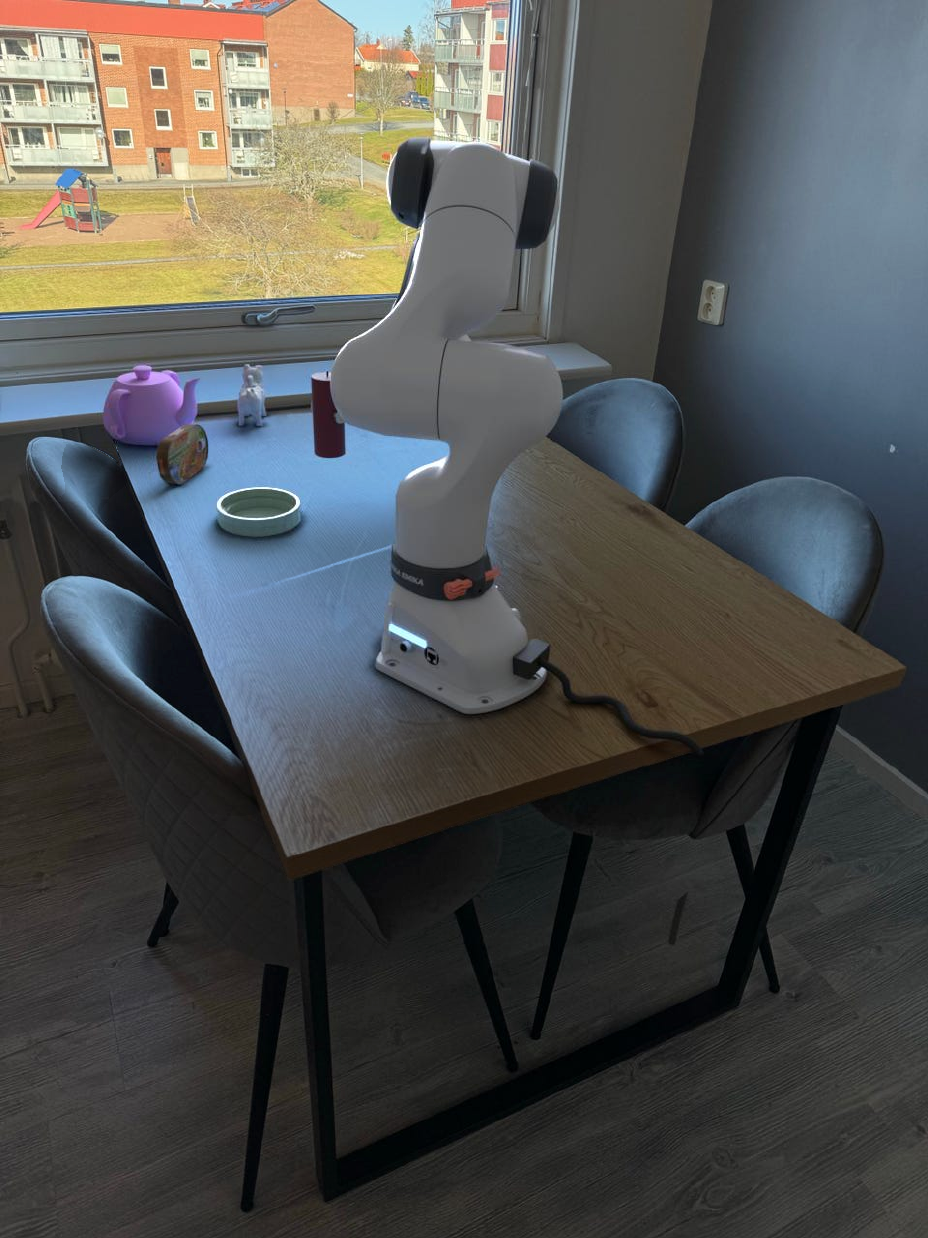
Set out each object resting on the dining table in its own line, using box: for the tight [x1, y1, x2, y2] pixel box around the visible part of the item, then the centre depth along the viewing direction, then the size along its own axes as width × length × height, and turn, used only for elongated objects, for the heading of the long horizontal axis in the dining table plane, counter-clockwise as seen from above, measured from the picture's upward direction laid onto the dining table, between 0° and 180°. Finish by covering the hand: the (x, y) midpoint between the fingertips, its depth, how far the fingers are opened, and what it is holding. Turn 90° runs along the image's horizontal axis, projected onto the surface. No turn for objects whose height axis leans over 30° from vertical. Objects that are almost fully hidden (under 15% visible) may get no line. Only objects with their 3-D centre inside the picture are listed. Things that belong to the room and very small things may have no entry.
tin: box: [155, 423, 209, 485], centre depth 158 cm, size 15×3×8 cm, turn 168°
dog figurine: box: [236, 363, 267, 427], centre depth 186 cm, size 5×13×11 cm, turn 6°
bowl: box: [216, 487, 302, 538], centre depth 144 cm, size 13×13×3 cm
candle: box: [310, 369, 347, 459], centre depth 145 cm, size 5×5×14 cm
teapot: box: [102, 365, 202, 446], centre depth 172 cm, size 22×22×14 cm
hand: (324, 412), depth 144 cm, fingers closed on candle, 5 cm apart
